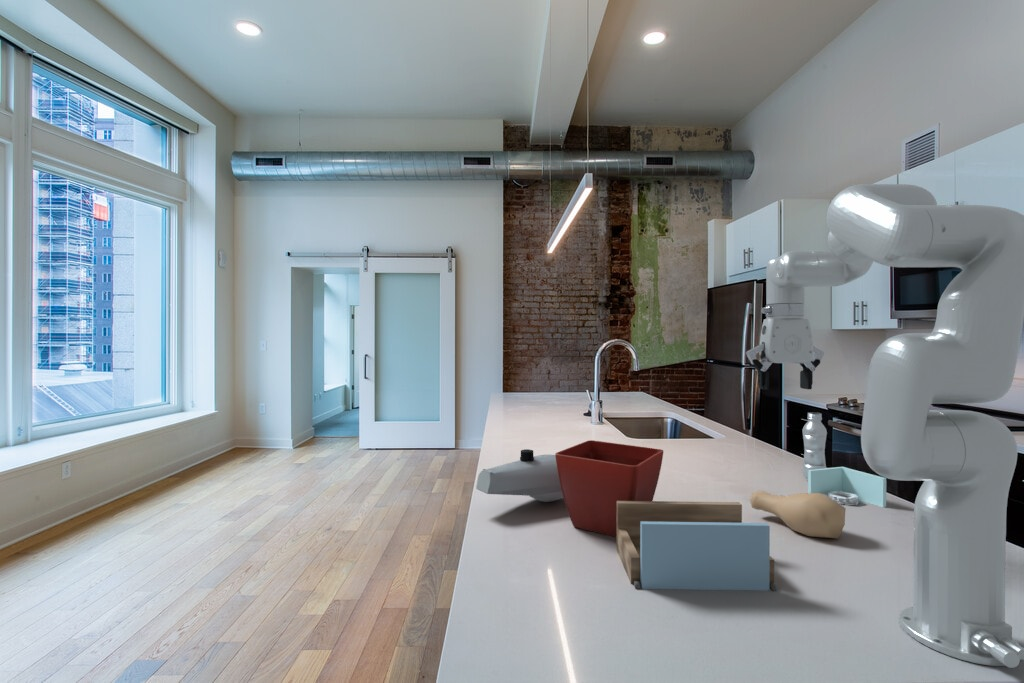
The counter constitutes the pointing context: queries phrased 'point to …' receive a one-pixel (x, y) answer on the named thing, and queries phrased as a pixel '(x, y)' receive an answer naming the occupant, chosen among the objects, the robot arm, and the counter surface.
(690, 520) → the box
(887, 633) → the counter surface
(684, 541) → the panel
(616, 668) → the counter surface
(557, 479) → the street light
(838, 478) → the l-shaped corner panel
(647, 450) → the plant pot
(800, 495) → the squash
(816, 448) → the plastic bottle
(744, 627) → the counter surface
